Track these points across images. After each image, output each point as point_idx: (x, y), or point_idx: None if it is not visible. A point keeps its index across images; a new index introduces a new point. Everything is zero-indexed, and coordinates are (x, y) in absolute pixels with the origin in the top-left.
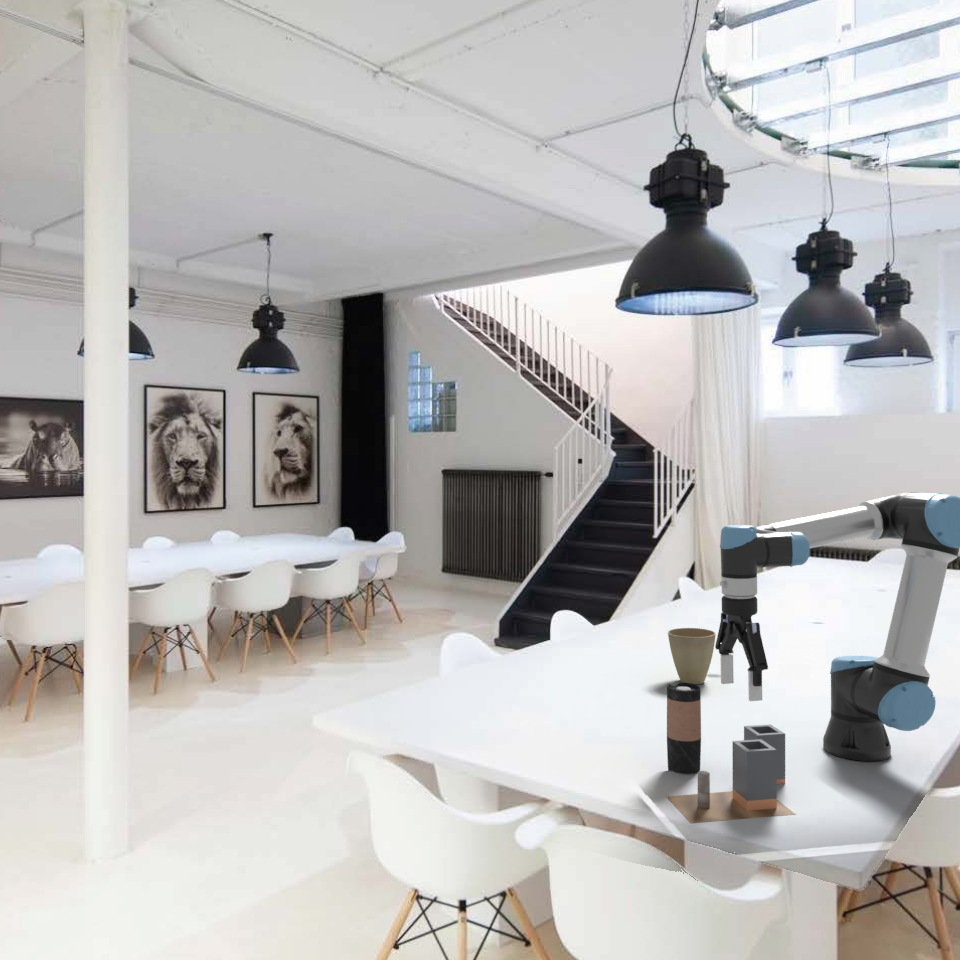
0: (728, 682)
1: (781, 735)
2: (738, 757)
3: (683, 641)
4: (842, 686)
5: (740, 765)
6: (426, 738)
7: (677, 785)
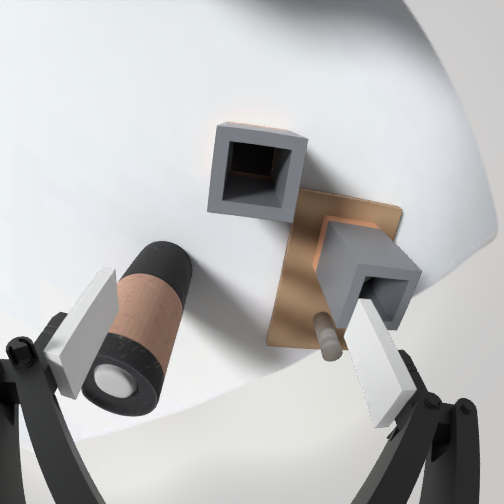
0: (115, 291)
1: (305, 150)
2: None
3: None
4: None
5: None
6: None
7: (212, 300)
